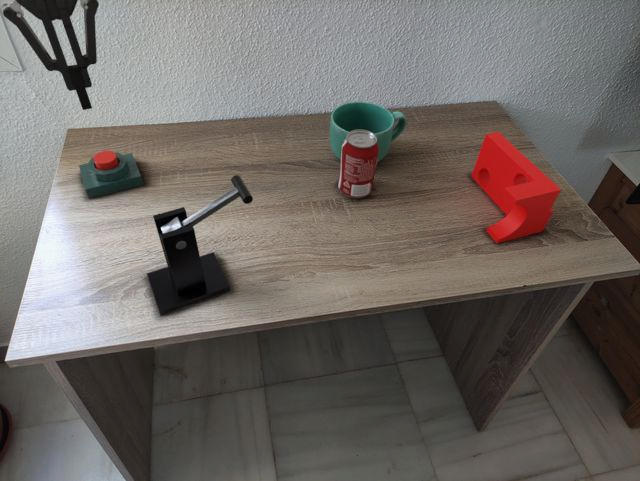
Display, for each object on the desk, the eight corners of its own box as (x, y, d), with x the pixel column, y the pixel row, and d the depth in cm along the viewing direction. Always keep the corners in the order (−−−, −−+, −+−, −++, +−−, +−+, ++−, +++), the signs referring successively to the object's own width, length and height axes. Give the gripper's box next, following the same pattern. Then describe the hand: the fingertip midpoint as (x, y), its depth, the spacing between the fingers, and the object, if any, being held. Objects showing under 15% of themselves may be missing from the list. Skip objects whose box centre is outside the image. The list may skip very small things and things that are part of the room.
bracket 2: (566, 188, 79) (516, 200, 76) (542, 231, 87) (496, 243, 84) (502, 130, 91) (457, 139, 88) (486, 173, 98) (444, 182, 95)
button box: (88, 198, 87) (81, 181, 84) (82, 174, 92) (75, 157, 89) (143, 184, 91) (138, 168, 88) (134, 161, 95) (129, 145, 92)
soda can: (373, 201, 90) (382, 150, 81) (338, 200, 90) (343, 148, 81) (371, 179, 95) (379, 128, 86) (337, 177, 95) (342, 126, 86)
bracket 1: (214, 256, 79) (203, 194, 69) (230, 291, 74) (221, 229, 64) (148, 278, 75) (126, 215, 65) (160, 315, 70) (138, 254, 60)
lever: (243, 181, 69) (236, 171, 67) (256, 202, 66) (248, 191, 64) (167, 229, 68) (157, 220, 66) (176, 253, 65) (166, 244, 63)
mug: (339, 178, 94) (343, 139, 88) (320, 143, 103) (323, 104, 96) (413, 166, 98) (422, 127, 92) (390, 133, 107) (397, 95, 100)
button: (98, 173, 87) (95, 165, 85) (94, 161, 89) (91, 153, 88) (120, 167, 88) (118, 160, 87) (116, 156, 91) (113, 148, 89)
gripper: (-25, -41, 58) (46, 124, 75) (86, -50, 63) (130, 108, 80) (-25, -58, 63) (42, 102, 80) (78, -65, 67) (121, 88, 84)
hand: (86, 105), depth 80 cm, fingers closed
